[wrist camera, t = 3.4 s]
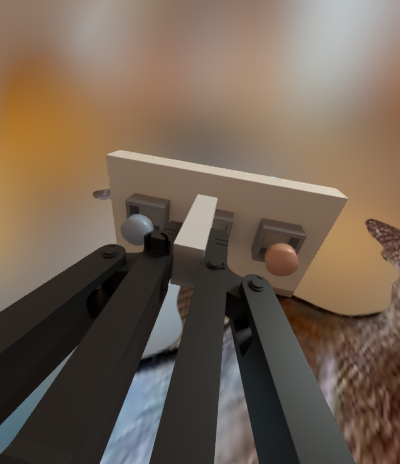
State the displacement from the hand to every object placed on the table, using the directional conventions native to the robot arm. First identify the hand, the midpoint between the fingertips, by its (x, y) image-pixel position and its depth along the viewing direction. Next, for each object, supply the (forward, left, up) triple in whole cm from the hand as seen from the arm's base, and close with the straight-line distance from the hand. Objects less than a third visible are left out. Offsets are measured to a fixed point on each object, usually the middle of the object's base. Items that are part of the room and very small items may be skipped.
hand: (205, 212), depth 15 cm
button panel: (-11, -11, -21) cm, 26 cm away
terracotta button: (-13, +2, -11) cm, 17 cm away
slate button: (+1, -13, -11) cm, 17 cm away
